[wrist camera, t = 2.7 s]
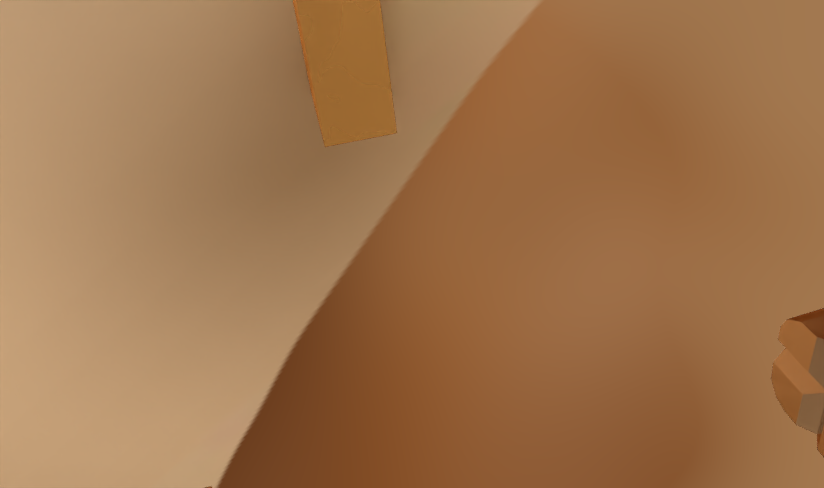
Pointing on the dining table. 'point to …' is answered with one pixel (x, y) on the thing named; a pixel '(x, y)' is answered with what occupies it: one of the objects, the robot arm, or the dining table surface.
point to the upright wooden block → (347, 68)
